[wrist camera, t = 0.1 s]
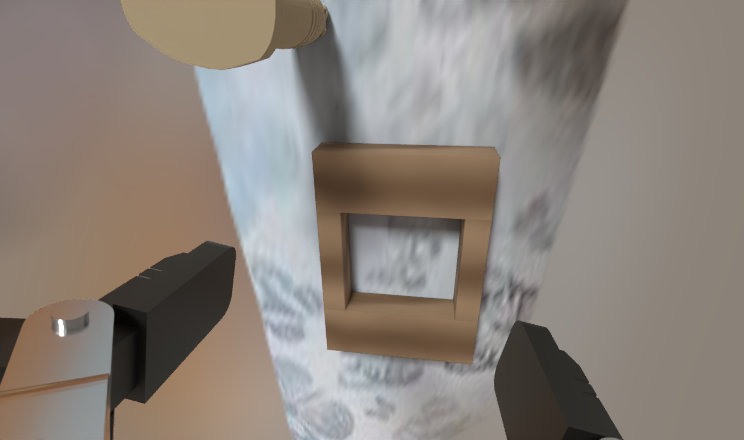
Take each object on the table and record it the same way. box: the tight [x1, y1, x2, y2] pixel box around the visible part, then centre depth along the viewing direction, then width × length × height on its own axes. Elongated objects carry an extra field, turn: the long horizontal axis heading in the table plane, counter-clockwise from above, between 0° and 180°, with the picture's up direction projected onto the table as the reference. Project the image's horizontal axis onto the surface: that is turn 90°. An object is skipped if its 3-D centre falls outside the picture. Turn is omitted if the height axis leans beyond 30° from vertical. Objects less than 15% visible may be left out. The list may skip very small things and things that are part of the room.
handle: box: [120, 0, 329, 70], centre depth 21 cm, size 5×6×15 cm
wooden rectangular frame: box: [312, 142, 500, 364], centre depth 34 cm, size 20×14×3 cm
